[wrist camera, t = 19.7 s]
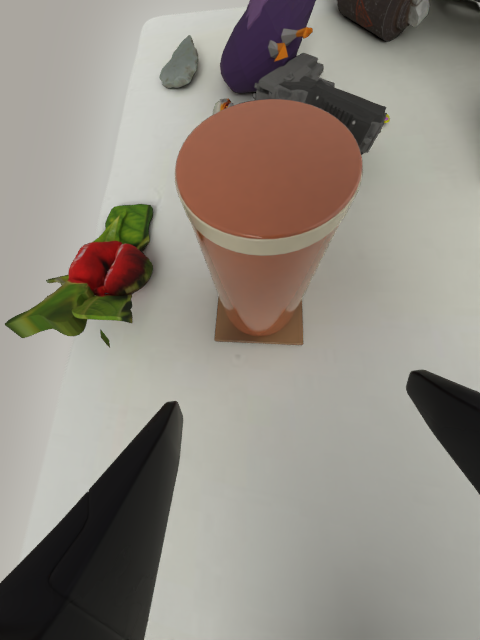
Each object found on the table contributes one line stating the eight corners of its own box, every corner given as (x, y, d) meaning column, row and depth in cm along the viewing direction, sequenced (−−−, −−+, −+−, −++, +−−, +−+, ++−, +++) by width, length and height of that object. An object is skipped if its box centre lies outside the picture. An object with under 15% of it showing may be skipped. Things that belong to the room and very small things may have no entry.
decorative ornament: (129, 326, 14) (-57, 318, 12) (147, 356, 18) (8, 352, 16) (168, 191, 22) (57, 179, 21) (174, 233, 26) (82, 225, 25)
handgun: (401, 75, 25) (302, 40, 26) (391, 121, 17) (248, 68, 18) (381, 112, 28) (293, 80, 29) (364, 168, 20) (241, 119, 21)
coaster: (215, 341, 18) (214, 340, 18) (222, 266, 20) (221, 263, 20) (301, 345, 18) (303, 344, 17) (300, 267, 20) (301, 264, 19)
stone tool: (158, 93, 29) (191, 91, 28) (150, 74, 28) (185, 71, 26) (182, 55, 32) (214, 51, 30) (177, 36, 30) (210, 31, 29)
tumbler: (263, 352, 17) (280, 278, 6) (208, 304, 19) (135, 171, 7) (311, 297, 18) (404, 144, 7) (255, 256, 20) (256, 76, 8)
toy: (297, -114, 18) (321, -22, 23) (198, 10, 25) (234, 60, 30) (310, 33, 19) (330, 90, 24) (210, 115, 25) (243, 144, 31)
